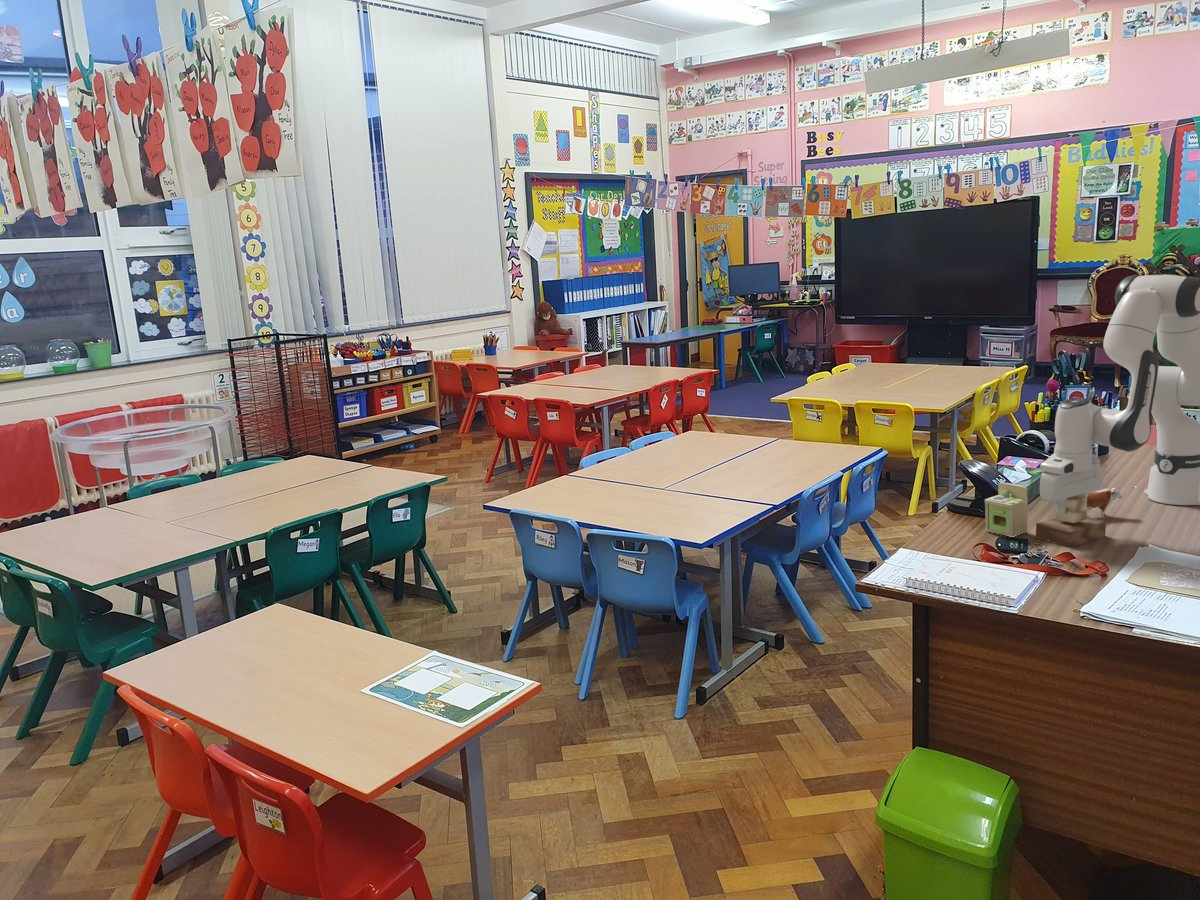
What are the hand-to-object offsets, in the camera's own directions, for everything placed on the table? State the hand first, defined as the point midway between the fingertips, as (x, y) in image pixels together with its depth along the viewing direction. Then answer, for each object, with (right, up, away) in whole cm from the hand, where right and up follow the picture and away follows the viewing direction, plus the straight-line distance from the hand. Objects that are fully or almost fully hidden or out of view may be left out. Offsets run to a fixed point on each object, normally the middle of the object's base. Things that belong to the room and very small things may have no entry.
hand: (1071, 511), depth 236 cm
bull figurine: (+15, -3, +16) cm, 22 cm away
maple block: (0, -2, 0) cm, 2 cm away
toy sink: (-13, -7, +9) cm, 17 cm away
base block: (+1, -7, +2) cm, 7 cm away
